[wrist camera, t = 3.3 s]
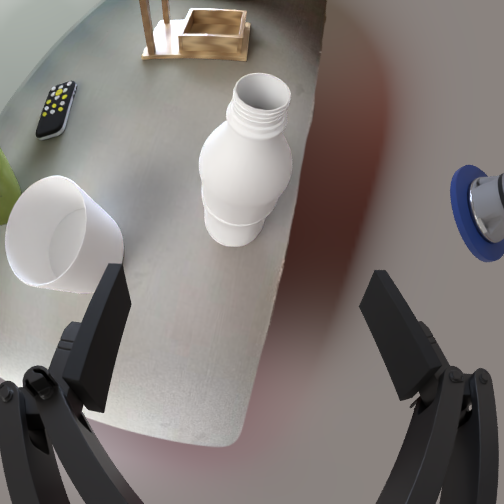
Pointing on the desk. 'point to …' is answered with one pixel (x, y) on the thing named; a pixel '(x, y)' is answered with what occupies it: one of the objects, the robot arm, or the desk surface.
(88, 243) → the cup
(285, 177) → the water bottle
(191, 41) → the rack
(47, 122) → the remote control
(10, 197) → the flower pot
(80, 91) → the desk surface
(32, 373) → the robot arm
